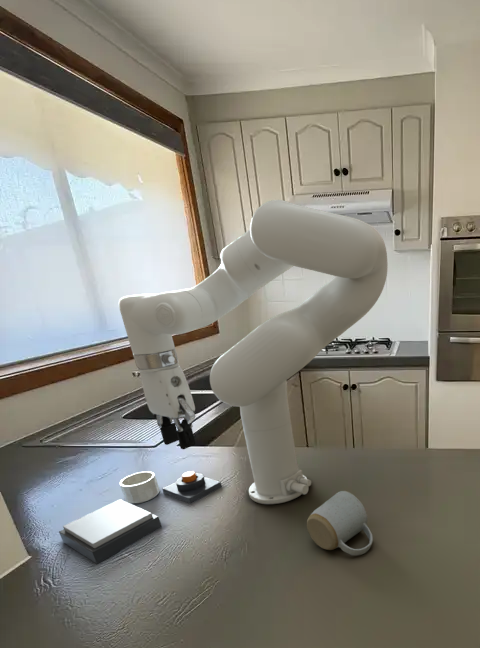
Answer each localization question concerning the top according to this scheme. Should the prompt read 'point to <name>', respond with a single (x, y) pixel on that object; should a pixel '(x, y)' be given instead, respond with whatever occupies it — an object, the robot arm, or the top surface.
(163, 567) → the top surface
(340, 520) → the ceramic mug
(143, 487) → the white cup
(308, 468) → the top surface
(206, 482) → the pad
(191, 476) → the button
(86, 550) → the scale
